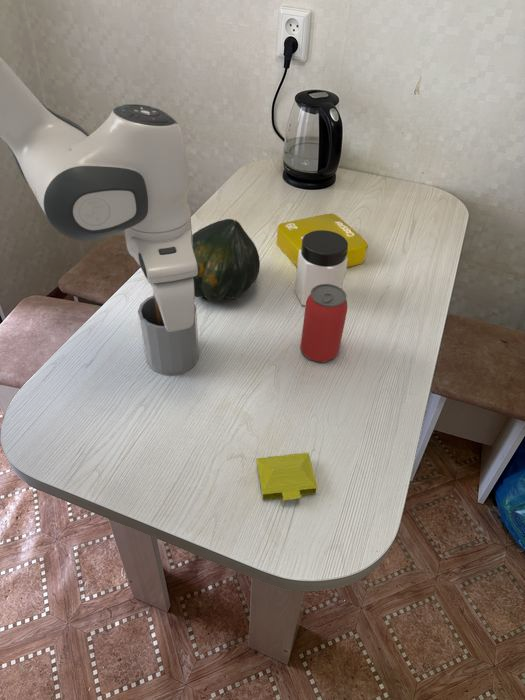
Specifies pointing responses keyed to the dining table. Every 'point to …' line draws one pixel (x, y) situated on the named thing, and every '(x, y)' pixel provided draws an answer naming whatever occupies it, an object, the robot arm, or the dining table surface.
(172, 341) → the steel cup
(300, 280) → the jar
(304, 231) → the yellow box
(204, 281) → the squash
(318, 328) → the beer can
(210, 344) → the dining table surface
